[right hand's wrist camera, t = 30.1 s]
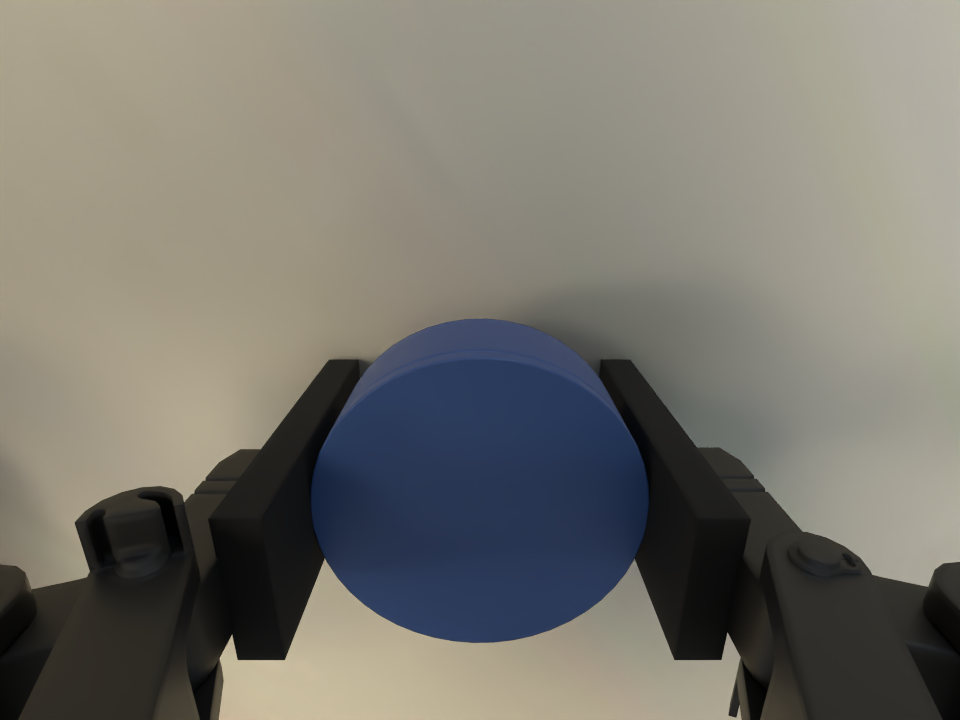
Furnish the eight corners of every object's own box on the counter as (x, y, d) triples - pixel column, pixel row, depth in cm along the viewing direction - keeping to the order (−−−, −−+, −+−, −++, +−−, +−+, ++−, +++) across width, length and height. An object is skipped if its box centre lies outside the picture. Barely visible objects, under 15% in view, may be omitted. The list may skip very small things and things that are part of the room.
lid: (600, 565, 13) (625, 648, 11) (347, 557, 13) (320, 639, 11) (637, 323, 11) (677, 364, 9) (334, 311, 11) (296, 350, 9)
